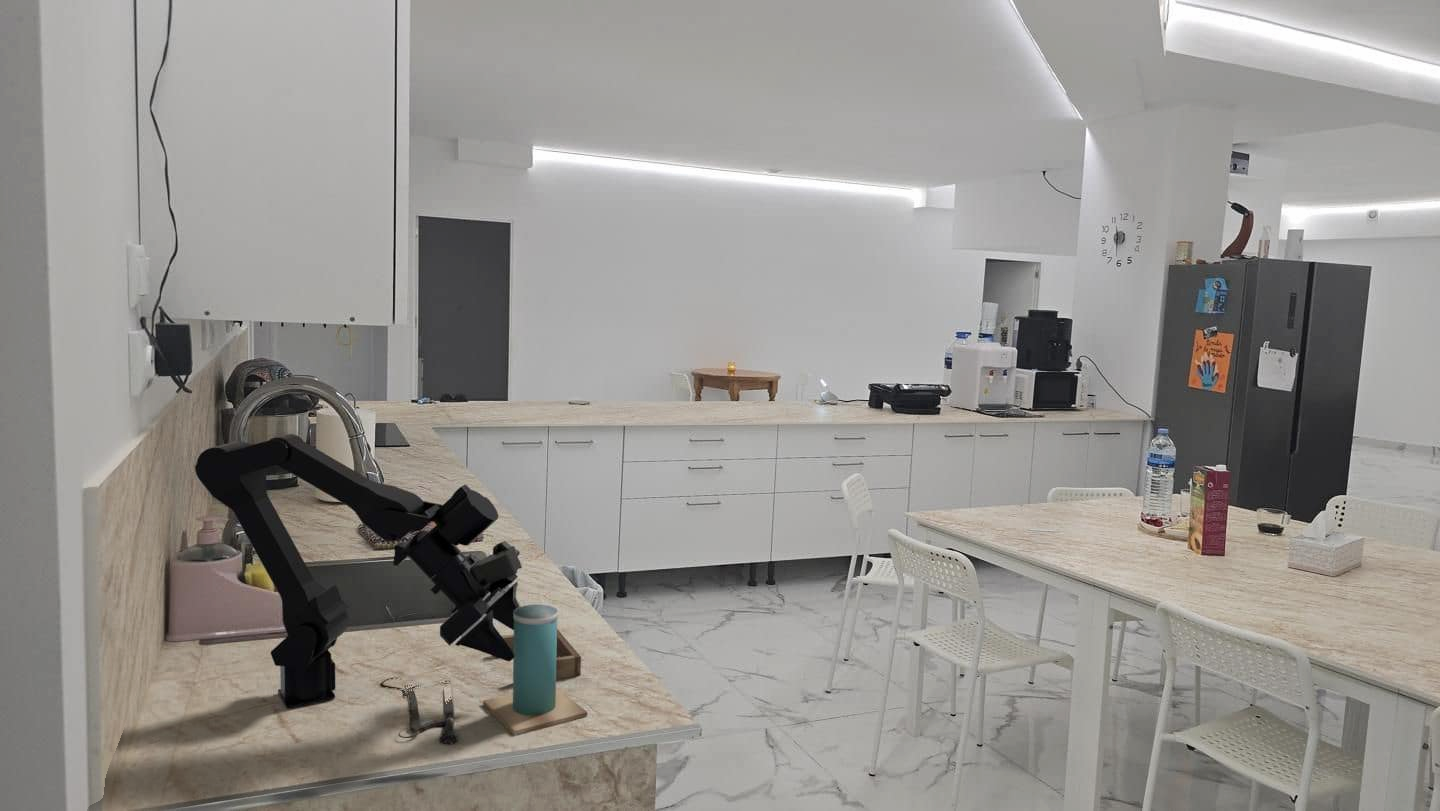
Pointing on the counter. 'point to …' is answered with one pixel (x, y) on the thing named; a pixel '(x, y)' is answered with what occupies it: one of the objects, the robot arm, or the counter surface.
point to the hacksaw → (415, 722)
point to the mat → (526, 723)
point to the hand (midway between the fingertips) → (521, 646)
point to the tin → (534, 659)
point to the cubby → (567, 659)
